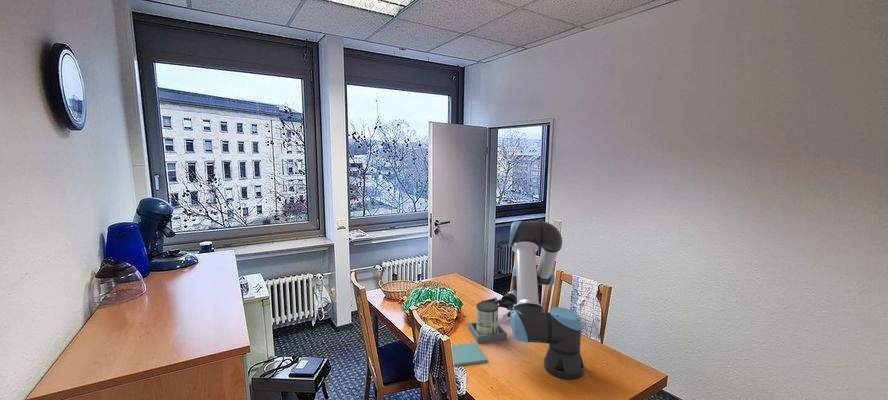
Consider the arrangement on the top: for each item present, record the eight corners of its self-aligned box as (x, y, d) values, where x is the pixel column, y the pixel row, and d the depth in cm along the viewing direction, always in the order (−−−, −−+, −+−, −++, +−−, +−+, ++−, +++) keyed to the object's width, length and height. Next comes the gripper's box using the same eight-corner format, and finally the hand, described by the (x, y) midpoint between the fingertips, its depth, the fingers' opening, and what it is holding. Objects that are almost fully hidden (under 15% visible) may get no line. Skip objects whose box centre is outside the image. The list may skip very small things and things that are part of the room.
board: (487, 361, 145) (487, 359, 145) (454, 366, 142) (454, 364, 142) (476, 344, 159) (476, 342, 159) (445, 348, 155) (445, 346, 155)
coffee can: (476, 328, 174) (476, 300, 172) (497, 329, 173) (497, 301, 171) (475, 338, 164) (476, 309, 162) (498, 340, 163) (499, 310, 161)
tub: (506, 339, 163) (506, 333, 163) (477, 343, 160) (477, 336, 160) (495, 325, 177) (495, 319, 176) (468, 328, 173) (468, 322, 173)
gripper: (533, 312, 181) (514, 328, 164) (490, 300, 196) (469, 314, 179) (533, 298, 180) (515, 312, 163) (490, 287, 195) (469, 300, 178)
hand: (491, 313), depth 171 cm, fingers open, 13 cm apart
